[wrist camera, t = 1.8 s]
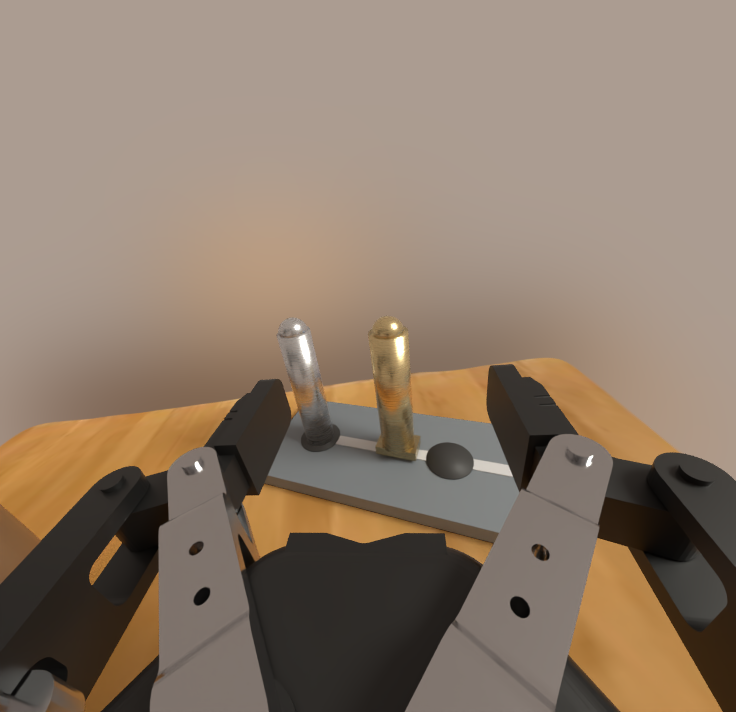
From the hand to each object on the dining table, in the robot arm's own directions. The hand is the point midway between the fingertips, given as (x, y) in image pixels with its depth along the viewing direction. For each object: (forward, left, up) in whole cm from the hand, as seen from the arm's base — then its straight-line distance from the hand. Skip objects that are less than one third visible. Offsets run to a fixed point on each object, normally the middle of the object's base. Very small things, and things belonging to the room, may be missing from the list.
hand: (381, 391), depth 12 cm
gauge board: (-4, +12, -18) cm, 22 cm away
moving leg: (-4, +12, -16) cm, 21 cm away
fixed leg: (-13, +12, -17) cm, 24 cm away
